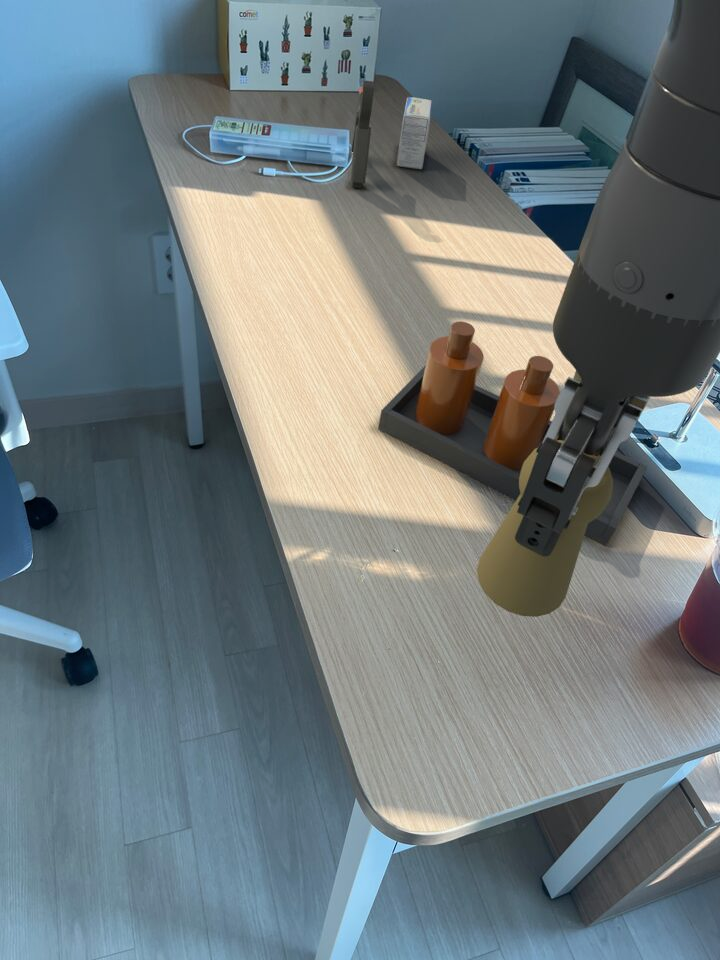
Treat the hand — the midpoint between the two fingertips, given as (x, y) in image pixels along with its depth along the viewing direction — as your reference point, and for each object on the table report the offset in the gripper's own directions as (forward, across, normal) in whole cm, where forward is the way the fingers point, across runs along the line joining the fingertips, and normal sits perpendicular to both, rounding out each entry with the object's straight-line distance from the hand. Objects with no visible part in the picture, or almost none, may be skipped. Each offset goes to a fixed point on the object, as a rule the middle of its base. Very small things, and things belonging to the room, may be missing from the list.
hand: (551, 514), depth 45 cm
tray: (+23, +28, +9) cm, 37 cm away
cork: (+7, 0, 0) cm, 7 cm away
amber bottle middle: (+22, +28, +9) cm, 37 cm away
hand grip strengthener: (+23, +74, +56) cm, 96 cm away
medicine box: (+23, +85, +52) cm, 102 cm away
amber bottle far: (+22, +28, +17) cm, 40 cm away
